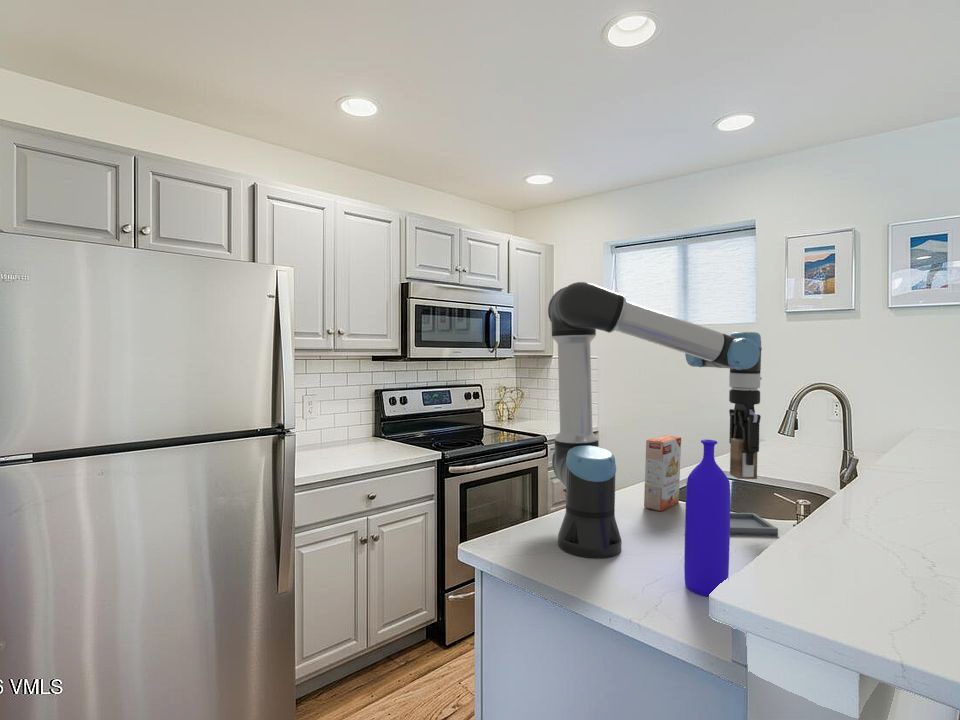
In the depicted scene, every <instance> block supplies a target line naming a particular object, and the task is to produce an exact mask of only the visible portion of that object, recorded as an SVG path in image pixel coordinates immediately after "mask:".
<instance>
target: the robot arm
mask: <svg viewBox="0 0 960 720" xmlns="http://www.w3.org/2000/svg"><path fill="white" fill-rule="evenodd" d="M547 316H548V318H549V321H550V323H551V339H553V340H554V342H555V343H557V360H558V361H557V365H558V366H557V367H558V370H557V371H558V401H559V402H558V403H559V407H558V408H559V433H558V434H557V435H556V436H554V451H553V453H552V456H551V457H552V458H551V464H552V469H553V472H554V475H555V476H556V478H557V479H558V480H559V481H560V482H561V483H562V484H563V485H564V486H565V490H566V491H565V514H564V515H563V516H564V517H563V520H562V523H561V526H560V528H559V531H558V534H557V537H558V538H557V545H558V547H559V548H560V549H561V550H563V551H565V552H567V553H569V554H571V555H575V556H579V557H584V558H595V559H599V558H600V559H601V558H610V557H613V556H616V555H618V554H620V552H622V542H623V541H622V537H621V536H622V535H621V534H620V533H621V532H620V529H619V528H618V524H617V520H616V517H615V516H616V515H615V513H616V512H615V507H616V503H615V502H616V474H617V465H616V458H615V456H614V454H613V453H612V452H611V451H610V450H608V449H606V448H601V447H600V446H599V437H598V436H597V435H596V434H595V433H594V432H593V408H592V407H593V403H592V402H593V401H592V398H593V397H592V396H593V395H592V365H591V362H592V361H591V359H592V358H591V342H592V341H593V340H594V339H595V337H596V336H597V333H596V332H597V331H596V330H599V331H602V332H603V331H604V332H606V333H608V334H611V333H613V332H615V331H616V332H619V333H622V334H626V335H629V336H630V337H634V338H638V339H640V340H644V341H647V342H650V343H653V344H656V345H659V346H662V347H666V348H669V349H671V350H674V351H677V352H680V353H684V356H685V361H686V363H687V364H688V365H689V366H690V367H693V368H695V367H696V368H716V369H718V368H719V369H729V376H728V377H729V379H728V380H729V385H728V386H729V388H730V389H729V391H728V392H729V393H728V394H729V397H728V400H729V402H730V404H734V408H730V409H729V411H728V412H729V444H730V445H731V438H739V439H743V441H744V450H743V451H742V453H743V455H742V476H743V477H754V453H755V452H757V453H758V452H760V423H761V419H762V417H761V416H762V415H761V414H756V410H755V405H759V404H760V403H761V391H760V390H758V389H760V388H761V381H762V376H761V366H762V363H761V362H762V349H763V348H762V338H761V337H762V336H761V334H760V333H759V332H756V331H755V332H753V331H746V332H744V331H741V332H740V331H739V332H738V331H737V332H731V333H730V335H729V334H726V333H722V332H719V331H717V330H714V329H711V328H708V327H705V326H702V325H699V324H695V323H693V322H690V321H687V320H684V319H681V318H678V317H676V316H673V315H669V314H668V313H667V314H666V313H664V312H660V311H658V310H655V309H651V308H648V307H646V306H642V305H639V304H637V303H635V302H630V301H627V299H626V297H625V295H623V294H621V293H619V292H615V291H612V290H610V289H607V288H604V287H602V286H599V285H597V284H594V283H590V282H587V281H577V282H574V283H571V284H569V285H567V286H564V287H562V288H560V289H559V290H557V291H556V292H555V293H554V294H553V295H552V297H551V299H550V300H549V303H548V307H547Z"/></svg>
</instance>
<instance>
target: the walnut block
mask: <svg viewBox="0 0 960 720" xmlns="http://www.w3.org/2000/svg"><path fill="white" fill-rule="evenodd" d="M743 450H744V441H743V439H739V438H731V444H730V453H729V475H731V476H732V477H734V478H736V479H738V480H739V479H740V480H742V479H743V480H758V452H755V453H754V477H743V476H742V455H743V453H742V451H743Z"/></svg>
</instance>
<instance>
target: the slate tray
mask: <svg viewBox="0 0 960 720" xmlns="http://www.w3.org/2000/svg"><path fill="white" fill-rule="evenodd" d="M730 535H743V536H746V535H747V536H774V537H775V535H778V536H779V528H777V527H776V526H774V525H773V524H771V523H770V522H768V521H767V520H766V519H764V518H763V517H761V516H759V515H758V514H757V513H754V512H730Z"/></svg>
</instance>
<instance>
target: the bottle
mask: <svg viewBox="0 0 960 720" xmlns="http://www.w3.org/2000/svg"><path fill="white" fill-rule="evenodd" d="M700 443H701V444H703V455H702V456H703V457H702V459H701V461H700V462H699V464H697V465H696V466H695V467H694V468H693V469H692V470H691V472H690V473H689V475H688V476H687V480H686V491H685V509H684V510H685V516H684V563H683V565H684V567H683V568H684V569H683V570H684V585H685V587H686V588H687V590H689V591H690V592H691V593H694V594H696V595H699V596H702V597H708V596H709V594H710V593H711V592H712V591H713V590H714V589H715V588H716V587H717V586H718V585H719V584H720V583H722V582H723V581H724V580H726V579H727V578H728V579H729V571H730V569H729V568H730V545H731V544H730V542H731V541H730V540H731V537H730V536H731V534H730V513H731V486H730V480H729V478H728V476H727V475H726V473H725V472H724V470H723V469H722V468H721V467H720V466H719V465H718V464H717V461H716V459H715V446H716V445H718V441H717V440H714V439H701V440H700ZM708 598H709V597H708Z"/></svg>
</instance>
